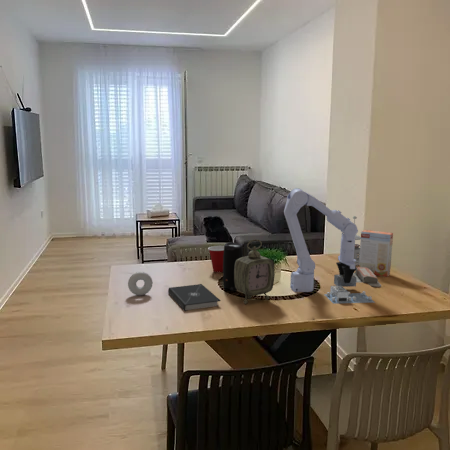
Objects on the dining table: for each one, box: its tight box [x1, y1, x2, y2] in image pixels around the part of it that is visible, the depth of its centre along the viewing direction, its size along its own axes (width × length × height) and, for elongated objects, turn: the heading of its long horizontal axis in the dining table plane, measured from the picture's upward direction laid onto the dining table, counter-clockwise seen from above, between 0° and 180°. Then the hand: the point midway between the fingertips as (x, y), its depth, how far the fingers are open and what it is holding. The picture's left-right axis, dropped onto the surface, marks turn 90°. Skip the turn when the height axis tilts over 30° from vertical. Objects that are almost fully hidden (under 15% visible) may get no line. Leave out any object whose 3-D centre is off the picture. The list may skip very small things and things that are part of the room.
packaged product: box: [353, 266, 382, 288], centre depth 219 cm, size 18×5×10 cm
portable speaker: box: [222, 242, 244, 292], centre depth 203 cm, size 9×9×20 cm
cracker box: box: [358, 229, 394, 278], centre depth 229 cm, size 14×6×21 cm, turn 58°
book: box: [167, 283, 221, 312], centre depth 190 cm, size 22×15×3 cm
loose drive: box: [333, 273, 357, 288], centre depth 201 cm, size 4×8×4 cm, turn 97°
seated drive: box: [330, 285, 350, 302], centre depth 191 cm, size 4×8×4 cm, turn 7°
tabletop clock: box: [234, 238, 275, 305], centre depth 189 cm, size 14×9×25 cm, turn 122°
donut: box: [127, 271, 153, 296], centre depth 194 cm, size 10×4×10 cm, turn 106°
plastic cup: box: [207, 245, 225, 273], centre depth 230 cm, size 11×11×12 cm
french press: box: [352, 215, 361, 266], centre depth 249 cm, size 10×12×25 cm
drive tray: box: [323, 290, 375, 305], centre depth 192 cm, size 17×11×3 cm, turn 97°
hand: (345, 280), depth 201 cm, fingers closed on loose drive, 4 cm apart
